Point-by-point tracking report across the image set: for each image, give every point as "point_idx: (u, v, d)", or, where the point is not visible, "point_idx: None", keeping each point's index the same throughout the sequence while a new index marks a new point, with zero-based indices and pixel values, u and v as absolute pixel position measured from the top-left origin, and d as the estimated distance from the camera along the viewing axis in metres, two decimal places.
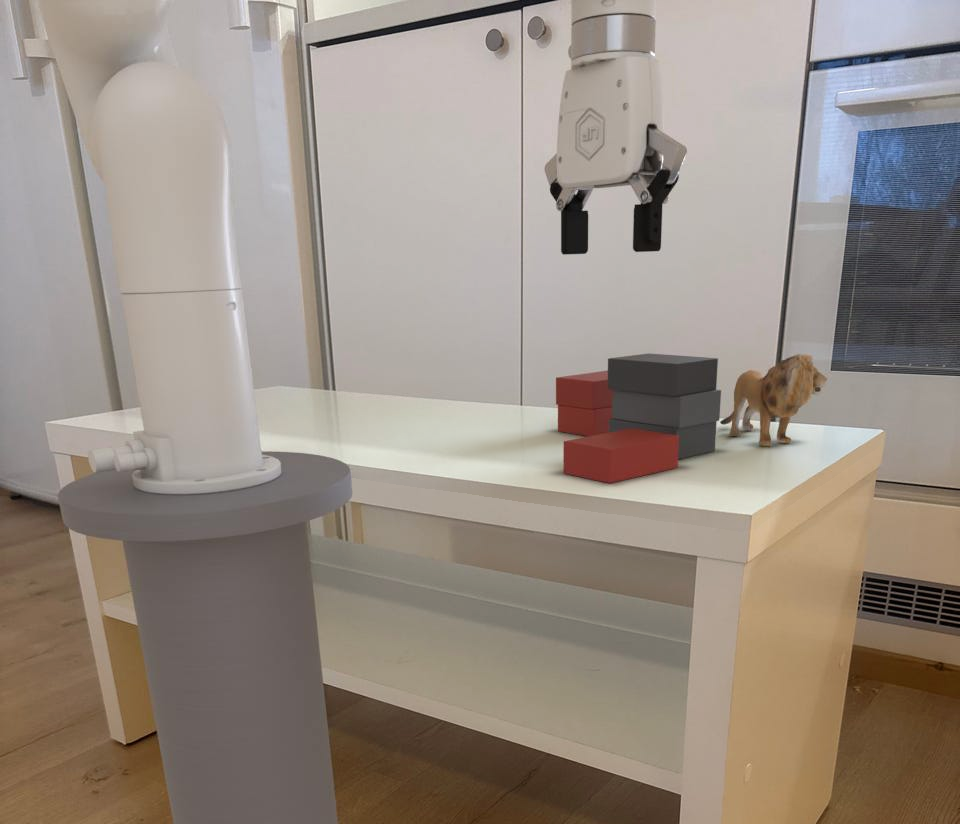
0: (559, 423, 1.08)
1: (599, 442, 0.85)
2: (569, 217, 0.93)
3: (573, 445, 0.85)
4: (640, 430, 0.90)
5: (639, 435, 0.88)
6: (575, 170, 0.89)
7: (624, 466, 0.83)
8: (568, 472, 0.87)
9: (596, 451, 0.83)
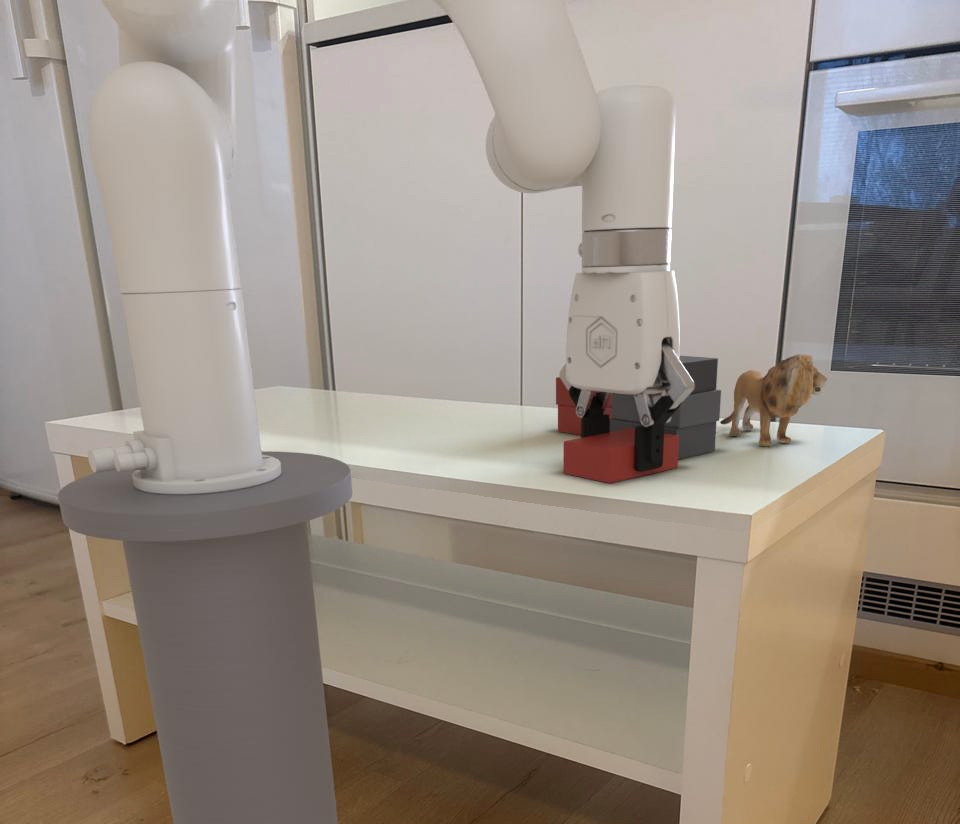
0: (559, 423, 1.08)
1: (599, 442, 0.85)
2: (590, 425, 0.88)
3: (573, 445, 0.85)
4: None
5: None
6: (585, 374, 0.84)
7: (624, 466, 0.84)
8: (568, 472, 0.87)
9: (596, 451, 0.83)
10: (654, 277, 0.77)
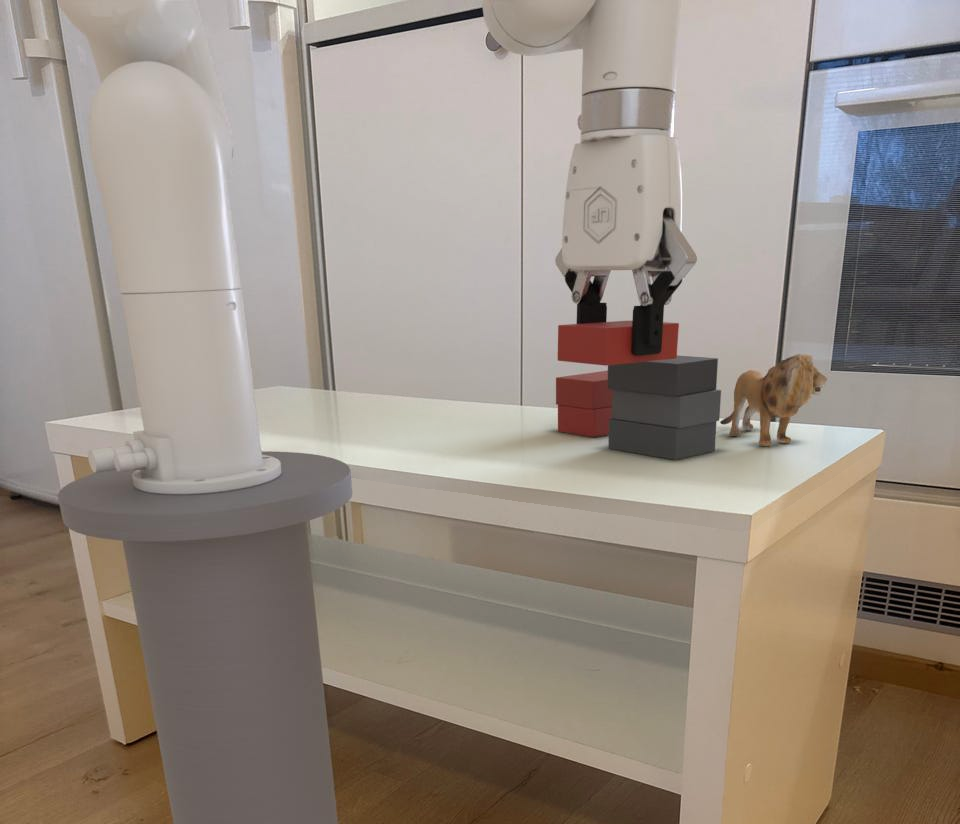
0: (559, 423, 1.08)
1: (595, 325, 0.81)
2: (586, 311, 0.84)
3: (568, 328, 0.82)
4: None
5: None
6: (582, 252, 0.80)
7: (621, 349, 0.80)
8: (562, 358, 0.83)
9: (592, 332, 0.79)
10: (656, 140, 0.74)
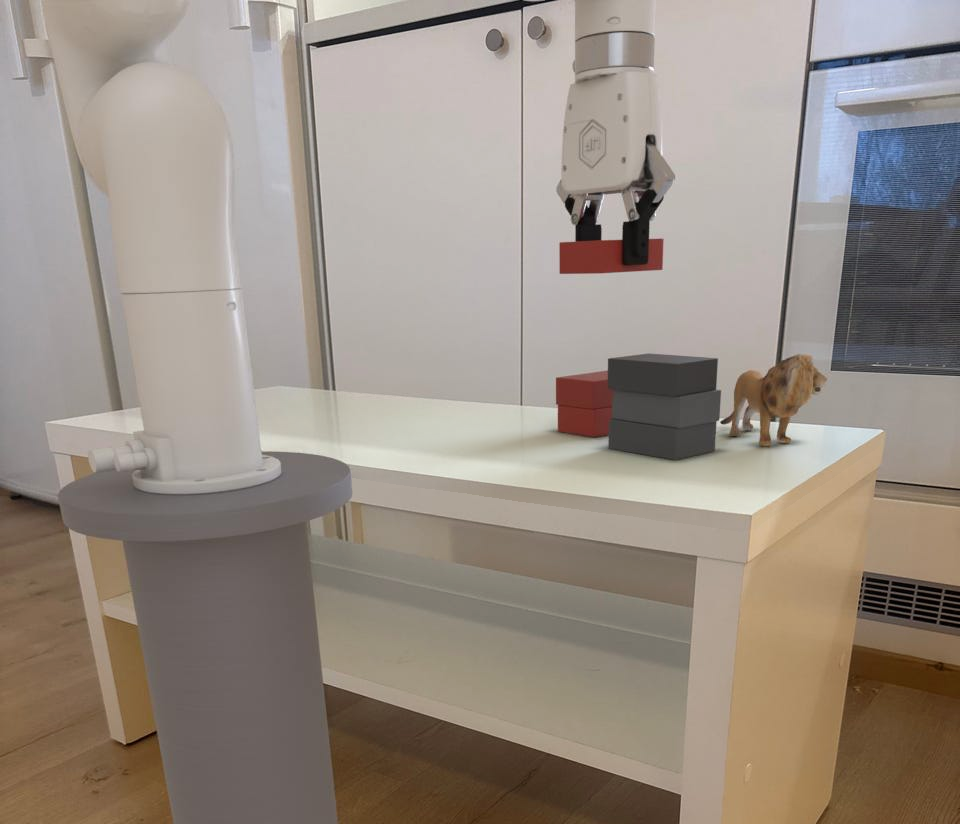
0: (559, 423, 1.08)
1: None
2: (583, 231, 0.97)
3: (567, 244, 0.95)
4: None
5: None
6: (578, 178, 0.94)
7: (613, 259, 0.93)
8: (563, 271, 0.96)
9: (588, 245, 0.93)
10: (638, 76, 0.87)
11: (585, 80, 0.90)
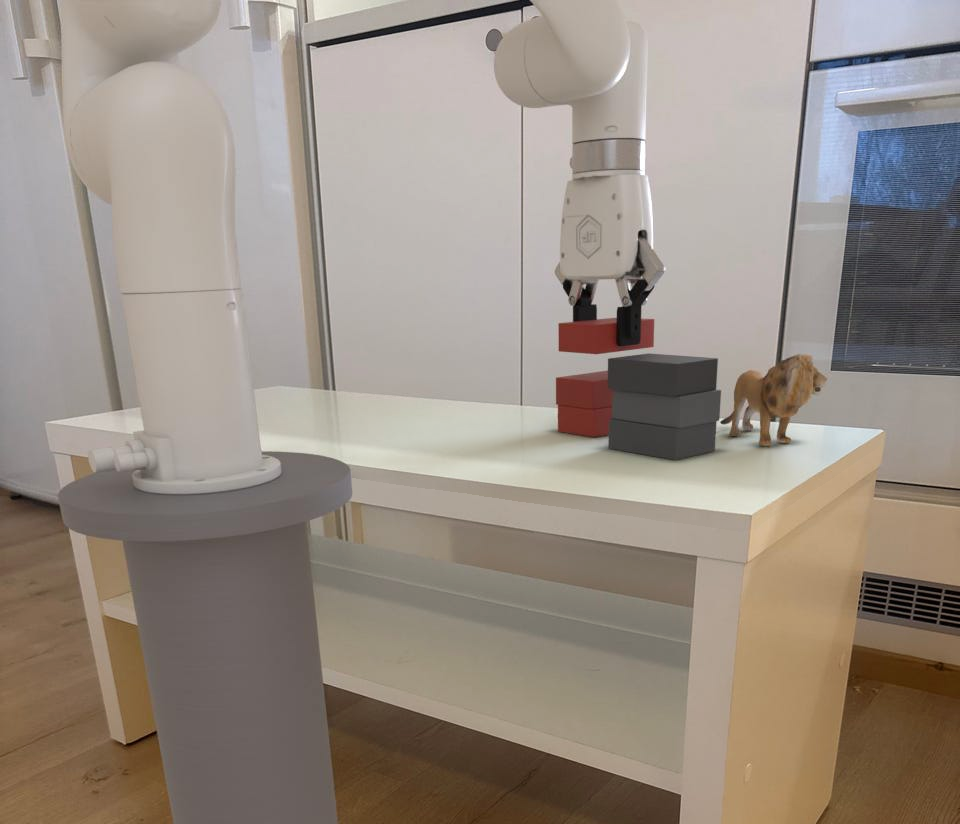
0: (559, 423, 1.08)
1: (588, 322, 1.03)
2: (580, 311, 1.05)
3: (566, 325, 1.03)
4: None
5: None
6: (576, 266, 1.02)
7: (608, 341, 1.01)
8: (562, 349, 1.04)
9: (585, 328, 1.01)
10: (631, 179, 0.95)
11: (582, 179, 0.98)
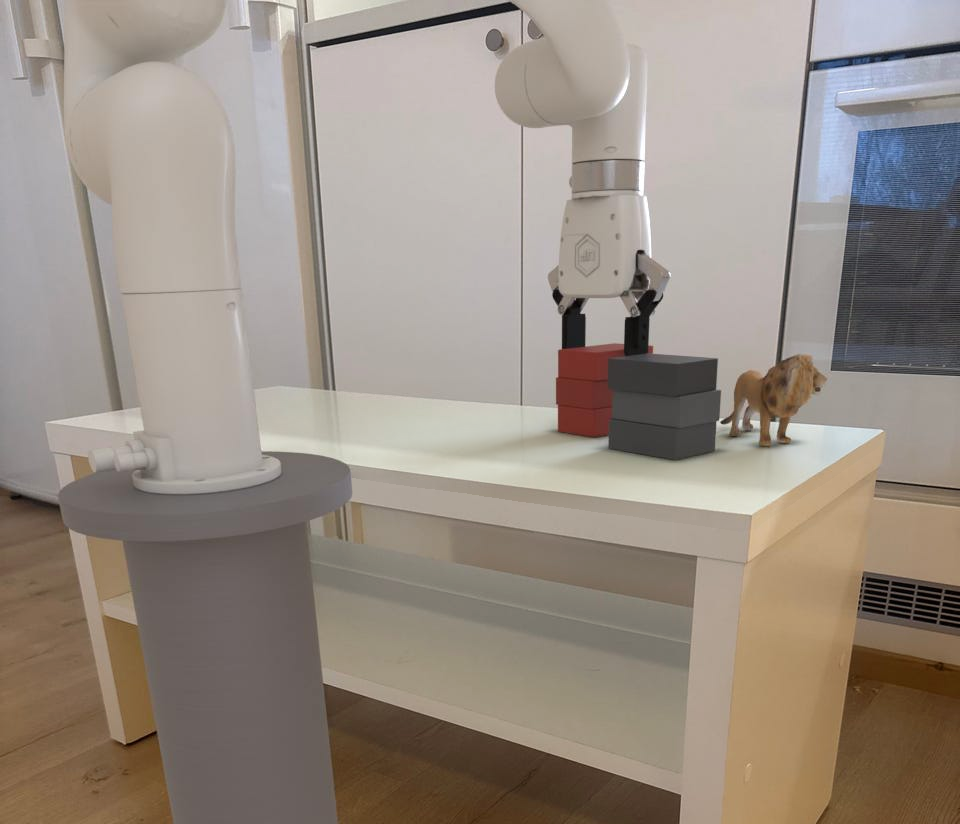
0: (559, 423, 1.08)
1: (587, 349, 1.04)
2: (569, 320, 1.07)
3: (565, 352, 1.04)
4: (622, 344, 1.09)
5: (620, 346, 1.06)
6: (574, 284, 1.02)
7: (607, 368, 1.02)
8: (562, 376, 1.05)
9: (584, 355, 1.02)
10: (629, 199, 0.96)
11: (581, 198, 0.99)
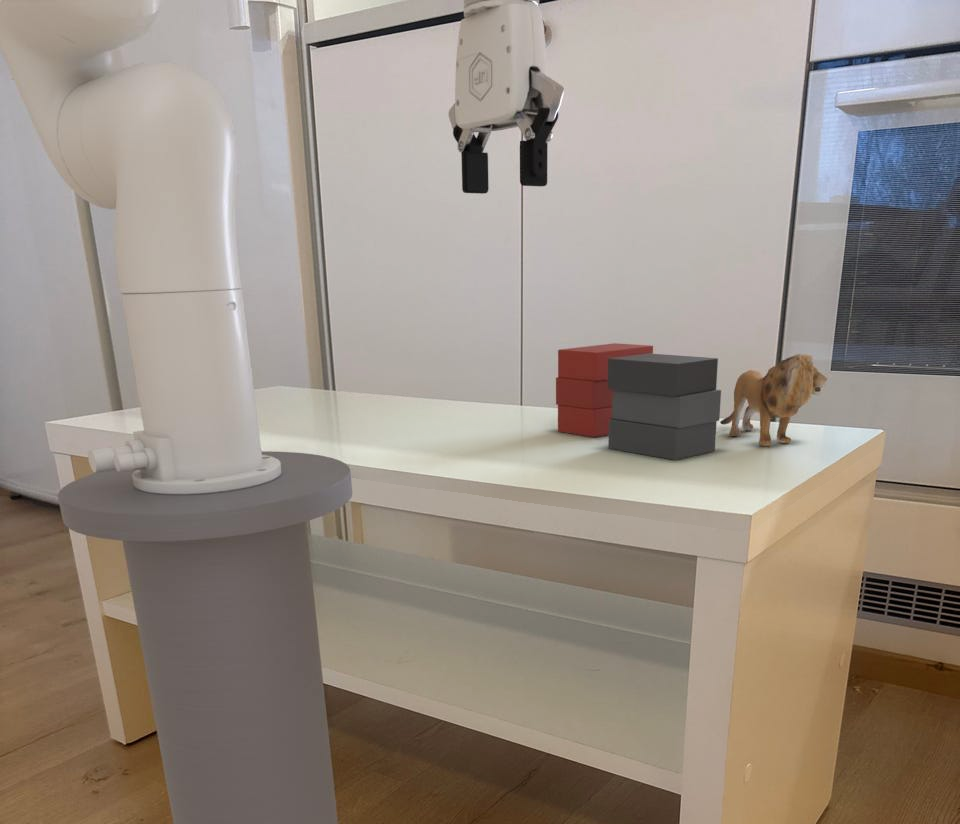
0: (559, 423, 1.08)
1: (587, 349, 1.04)
2: (469, 157, 1.01)
3: (565, 352, 1.04)
4: (622, 344, 1.09)
5: (620, 346, 1.06)
6: (469, 111, 0.97)
7: (607, 368, 1.02)
8: (562, 376, 1.05)
9: (584, 355, 1.02)
10: (520, 8, 0.90)
11: (473, 14, 0.93)
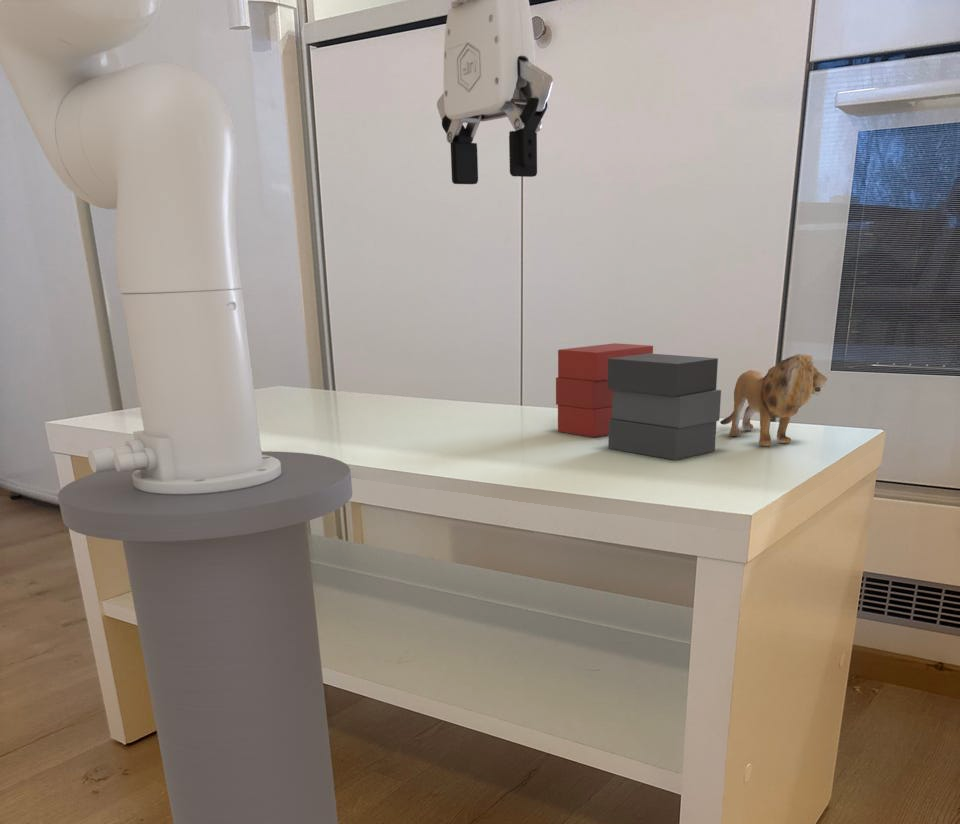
0: (559, 423, 1.08)
1: (587, 349, 1.04)
2: (458, 148, 1.01)
3: (565, 352, 1.04)
4: (622, 344, 1.09)
5: (620, 346, 1.06)
6: (458, 102, 0.97)
7: (607, 368, 1.02)
8: (562, 376, 1.05)
9: (584, 355, 1.02)
10: None
11: (460, 4, 0.93)
